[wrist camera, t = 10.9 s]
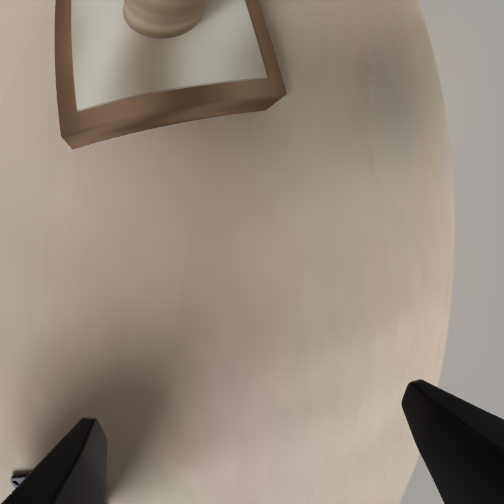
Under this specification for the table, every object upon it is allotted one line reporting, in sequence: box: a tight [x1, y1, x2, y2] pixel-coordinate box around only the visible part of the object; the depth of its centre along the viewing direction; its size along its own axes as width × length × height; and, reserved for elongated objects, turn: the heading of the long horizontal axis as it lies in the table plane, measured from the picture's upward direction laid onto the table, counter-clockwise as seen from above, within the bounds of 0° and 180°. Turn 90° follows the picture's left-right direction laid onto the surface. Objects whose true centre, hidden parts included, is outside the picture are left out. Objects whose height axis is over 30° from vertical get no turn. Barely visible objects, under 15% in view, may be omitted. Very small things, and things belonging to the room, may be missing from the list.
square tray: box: [55, 0, 286, 149], centre depth 15 cm, size 12×12×3 cm
